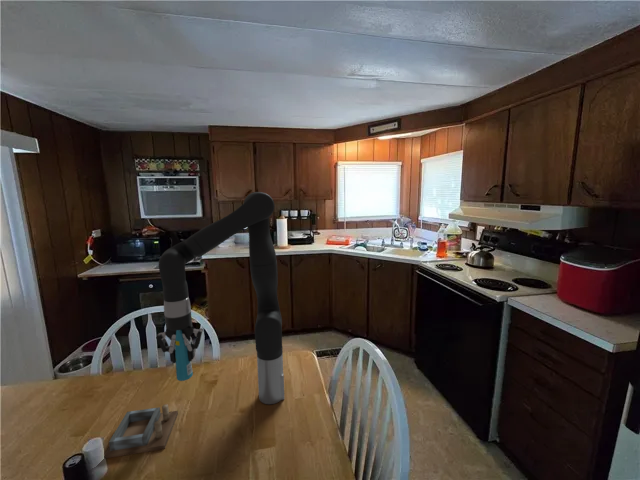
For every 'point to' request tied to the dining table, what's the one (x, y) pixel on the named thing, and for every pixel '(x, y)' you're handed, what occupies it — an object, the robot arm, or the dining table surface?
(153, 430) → the socket board
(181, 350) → the tube
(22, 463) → the dining table surface
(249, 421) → the dining table surface
